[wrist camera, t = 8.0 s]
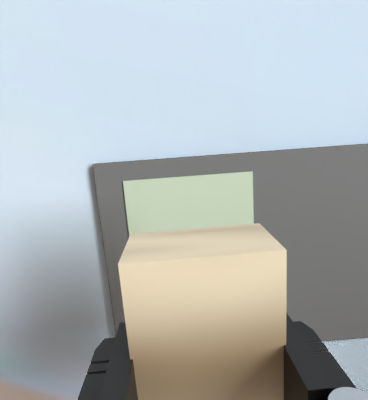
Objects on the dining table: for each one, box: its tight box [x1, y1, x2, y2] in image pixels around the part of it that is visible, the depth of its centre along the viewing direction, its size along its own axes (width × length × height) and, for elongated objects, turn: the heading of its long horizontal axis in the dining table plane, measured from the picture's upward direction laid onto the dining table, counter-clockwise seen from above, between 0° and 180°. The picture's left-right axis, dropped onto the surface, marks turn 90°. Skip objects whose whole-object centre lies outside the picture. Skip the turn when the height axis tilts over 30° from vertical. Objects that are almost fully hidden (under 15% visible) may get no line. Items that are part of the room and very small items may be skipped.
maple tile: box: [118, 223, 287, 400], centre depth 10 cm, size 8×4×2 cm, turn 4°
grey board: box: [93, 144, 368, 341], centre depth 17 cm, size 20×12×1 cm, turn 94°
